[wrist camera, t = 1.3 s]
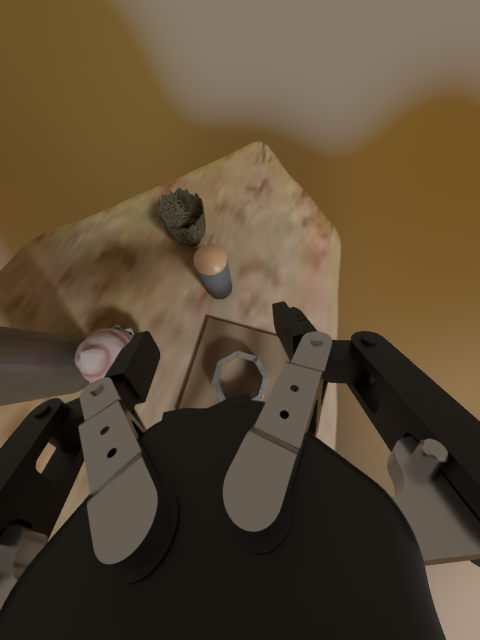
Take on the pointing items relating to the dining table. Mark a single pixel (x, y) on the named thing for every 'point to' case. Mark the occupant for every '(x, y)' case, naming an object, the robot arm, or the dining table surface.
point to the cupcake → (101, 351)
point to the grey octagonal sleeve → (220, 368)
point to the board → (232, 363)
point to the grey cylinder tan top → (213, 270)
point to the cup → (182, 216)
